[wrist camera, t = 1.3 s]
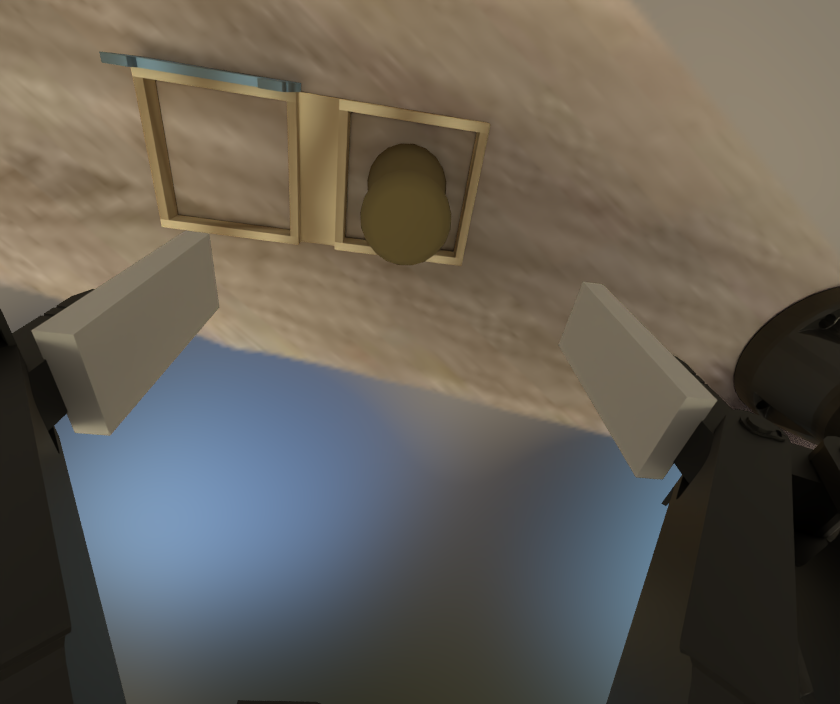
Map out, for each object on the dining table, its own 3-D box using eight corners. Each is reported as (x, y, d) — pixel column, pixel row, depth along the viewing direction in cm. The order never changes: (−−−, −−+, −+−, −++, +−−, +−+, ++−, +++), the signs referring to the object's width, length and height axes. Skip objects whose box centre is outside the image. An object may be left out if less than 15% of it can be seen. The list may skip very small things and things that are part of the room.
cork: (359, 149, 30) (337, 176, 21) (441, 137, 30) (456, 159, 20) (375, 231, 33) (362, 286, 24) (449, 221, 33) (465, 273, 24)
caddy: (488, 114, 29) (500, 118, 25) (459, 259, 35) (465, 280, 31) (141, 56, 27) (97, 51, 23) (171, 221, 32) (140, 239, 29)
